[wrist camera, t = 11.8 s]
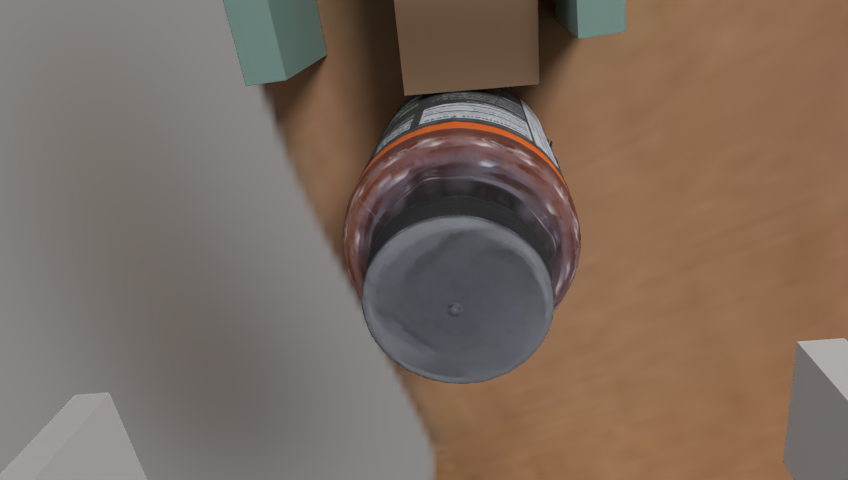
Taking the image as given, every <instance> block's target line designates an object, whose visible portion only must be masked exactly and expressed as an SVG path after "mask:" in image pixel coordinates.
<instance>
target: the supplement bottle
mask: <svg viewBox="0 0 848 480" xmlns="http://www.w3.org/2000/svg"><path fill="white" fill-rule="evenodd" d="M580 240H581V235H580V226H579V222H578V218H577V213H576V210H575V207H574V204H573V200H572V198H571V196H570V192H569V189H568V187H567V184H566V183H565V181H564V178H563V175H562V172H561V170H560V167H559V165H558V161H557V159H556V157H555V156H554V154H553V152H552V141H551V143H550V145H549V140H548V139H547V138H546V134H545V132H544V129H543V128H542V126H541V124H540V122H539V120H538V119H537V117H536V115H535V114H534V112H533V110H532V109H531V108H530V106H529V105H528V104H527V103H526V102H525V100H523V99H522V98H521V97H520V96H519V95H518V94H517V93H516V92H514V91H513V90H512V89H510V88H509V87H501V88H489V89H477V90H466V91H454V92H442V93H430V94H419V95H411V96H410V97H409V98H408V99H407V100H406V101H405V102H404V104H403V105H401V107H400V108H399V109H398V111H397V112H396V113H395V115H394V116H393V118H392V119H391V121H390V122H389V125H388V127H387V129H386V130H385V132H384V134H383V136H382V138H381V139H380V141H379V143H378V145H377V147H376V149H375V150H374V152H373V154H372V156H371V158H370V160H369V162H368V164H367V165H366V167H365V169H364V171H363V173H362V174H361V176H360V178H359V181H358V183H357V185H356V187H355V189H354V191H353V193H352V196H351V198H350V200H349V203H348V207H347V212H346V216H345V222H344V228H343V251H344V257H345V262H346V266H347V270H348V273H349V276H350V279H351V281H352V284H353V285H354V287H355V289H356V291H357V293H358V295H359V296H360V297H361V299H362V309H363V313H364V317H365V320H366V323H367V326H368V329H369V331H370V333H371V335H372V337H373V338H374V340H375V341H376V343H377V344H378V345H379V346H380V348H381V349H382V350H383V351H384V352H385V353H386V354H387V355H388V356H389V357H390V358H391V359H392V360H393V361H395V362H396V363H397V364H399V365H400V366H402V367H403V368H405V369H406V370H408V371H410V372H413V373H415V374H417V375H419V376H422V377H424V378H428V379H431V380H434V381H441V382H444V383H458V384H468V383H478V382H484V381H487V380H491V379H493V378H496V377H499V376H501V375H504V374H506V373H509V372H511V371H512V370H513V369H515V368H516V367H518V366H519V365H521V364H522V363H523V362H525V361H526V360H527V359H528V358H529V357H530V356H531V355H532V354H533V353H534V352H535V351H536V350H537V349H538V347H539V346H540V344H541V343H542V342H543V340H544V338H545V336H546V334H547V332H548V329H549V327H550V324H551V321H552V319H553V312H554V310H556V309H557V307H558V306H559V304H560V302H561V301H562V299H563V298H564V296H565V294H566V293H567V291H568V289H569V287H570V285H571V283H572V281H573V279H574V276H575V272H576V268H577V266H578V261H579V255H580V248H581V243H580Z"/></svg>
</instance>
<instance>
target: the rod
mask: <svg viewBox="0 0 848 480" xmlns="http://www.w3.org/2000/svg"><path fill="white" fill-rule="evenodd" d="M394 7H395V16H396V25H397V33H398V42H399V51H400V60H401V69H402V78H403V87H404V96H407V95H419V94H430V93H442V92H454V91H466V90H477V89H489V88H501V87H513V86H524V85H536V84H539V36H538V0H394Z"/></svg>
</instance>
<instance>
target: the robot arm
mask: <svg viewBox="0 0 848 480" xmlns="http://www.w3.org/2000/svg"><path fill="white" fill-rule="evenodd" d="M783 462H784V464H785V466H786V467H787V469H788V471H789V472H790V474H791V475H792V477H793V479H794V480H848V341H847V340H846V339H845V338H840V339H827V340H813V341H800V342H797V347H796V356H795V364H794V373H793V382H792V390H791V399H790V407H789V416H788V425H787V433H786V442H785V450H784V459H783ZM0 480H147V478H146V476H145V474H144V471H143V469H142V467H141V464H140V462H139V460H138V458H137V455H136V453H135V451H134V448H133V446H132V444H131V441H130V439H129V437H128V435H127V432H126V430H125V428H124V425H123V423H122V421H121V419H120V416H119V414H118V412H117V409H116V407H115V405H114V402H113V400H112V398H111V396H110V393H109V392H108V393H107V392H106V393H93V394H79V395H74V396H73V398H71V399H70V401H69V402H68V403H67V404H66V405H65V406H64V407H63V408H62V409H61V410H60V411H59V412H58V413H57V414H56V415H55V416H54V417H53V418H52V420H51V421H50V422H49V423H48V424H47V425H46V426H45V427H44V428H43V429H42V430H41V431H40V432H39V433H38V434H37V435H36V436H35V438H34V439H33V440H32V441H31V442H30V443H29V444H28V445H27V446H26V447H25V448H24V449H23V450H22V451H21V452H20V453H19V455H17V457H16V458H15V459H14V460H13V461H12V462H11V463H10V464H9V465H8V466H7V467H6V468H5V469H4V470H3V471H2V473H0Z"/></svg>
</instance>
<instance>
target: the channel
mask: <svg viewBox="0 0 848 480" xmlns="http://www.w3.org/2000/svg"><path fill="white" fill-rule="evenodd" d="M223 2H224V5H225V9H226V13H227V17H228V20H229V24H230V28H231V32H232V35H233V39H234V43H235V47H236V50H237V54H238V58H239V62H240V65H241V69H242V72H243V77H244V80H245V84H246V86H249V85H256V84H263V83H270V82H277V81H284V80H288V79H289V78H291V77H292V76H294V75H296V74H297V73H299V72H300V71H302V70H304V69H305V68H307V67H308V66H310V65H312V64H313V63H315V62H316V61H318V60H320V59H321V58H323V57H324V56H326V55H327V52H326V47H325V42H324V37H323V32H322V27H321V23H320V18H319V13H318V8H317V3H316V0H223ZM555 8H556V21H557V22H558V23H559V24H561V25H562V26H563V27H564V28H566V29H567V30H568V31H569V32H571V33H572V34H573V35H574V36H576V37H577V38H578V39H580V38H587V37H594V36H601V35H608V34H615V33H622V32H626V16H625V0H555Z"/></svg>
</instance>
